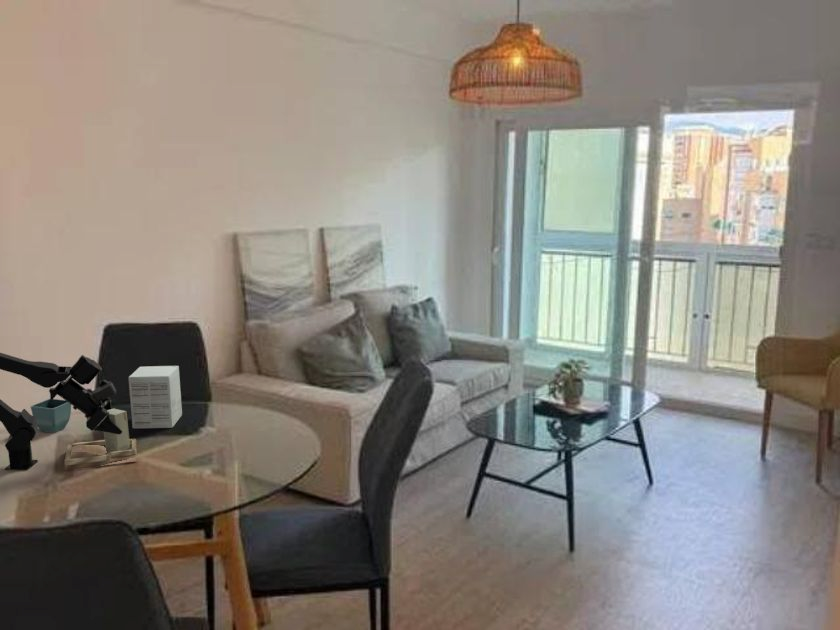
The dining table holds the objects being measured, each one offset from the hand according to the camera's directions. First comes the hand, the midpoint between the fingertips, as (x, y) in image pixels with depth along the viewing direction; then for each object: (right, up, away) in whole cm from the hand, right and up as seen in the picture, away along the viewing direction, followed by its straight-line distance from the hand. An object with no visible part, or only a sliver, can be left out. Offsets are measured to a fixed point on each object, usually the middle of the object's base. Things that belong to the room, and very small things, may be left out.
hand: (121, 428), depth 231 cm
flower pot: (-30, -4, +22) cm, 38 cm away
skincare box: (-1, -7, +1) cm, 7 cm away
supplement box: (+1, -2, +30) cm, 30 cm away
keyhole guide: (-5, -8, 0) cm, 10 cm away
